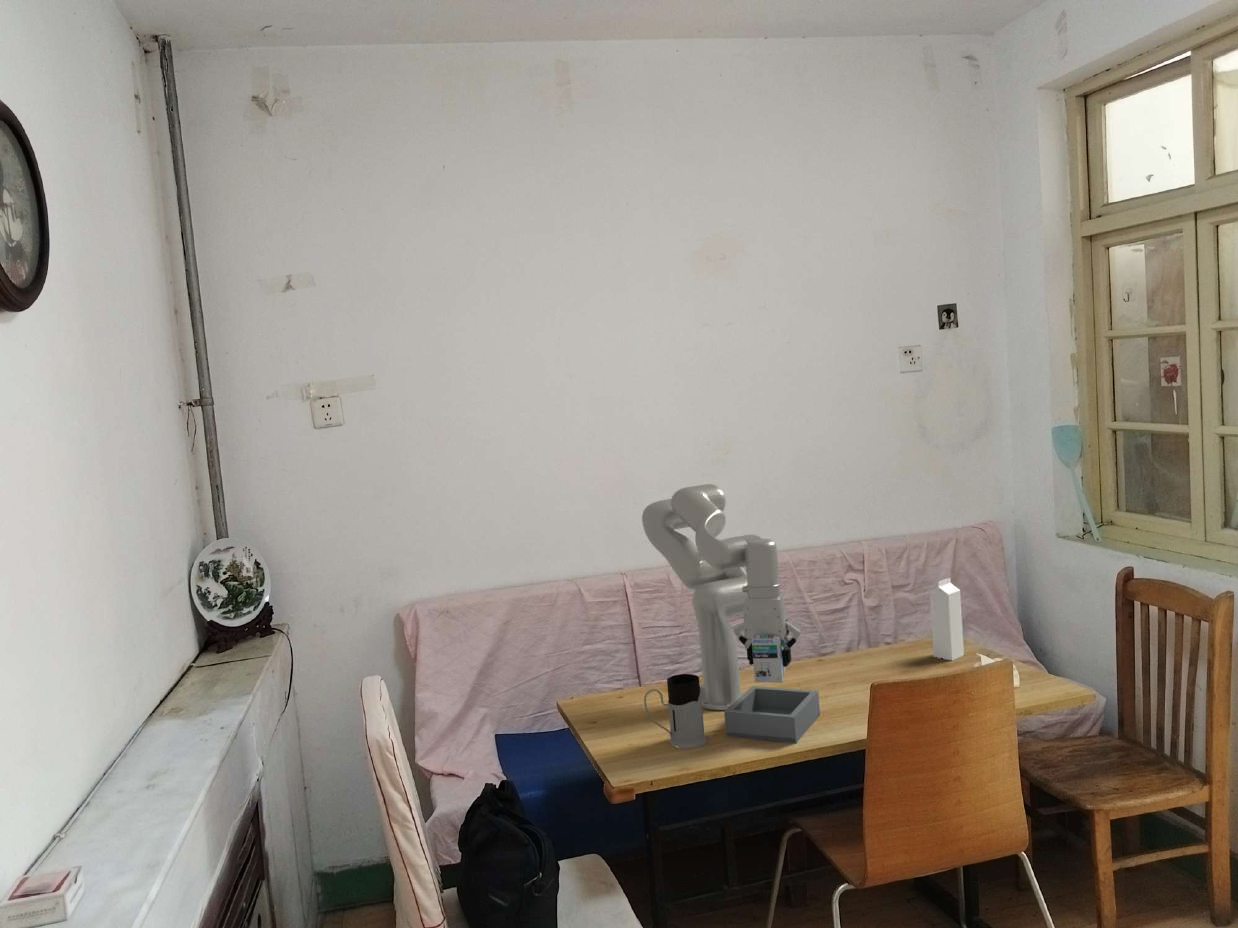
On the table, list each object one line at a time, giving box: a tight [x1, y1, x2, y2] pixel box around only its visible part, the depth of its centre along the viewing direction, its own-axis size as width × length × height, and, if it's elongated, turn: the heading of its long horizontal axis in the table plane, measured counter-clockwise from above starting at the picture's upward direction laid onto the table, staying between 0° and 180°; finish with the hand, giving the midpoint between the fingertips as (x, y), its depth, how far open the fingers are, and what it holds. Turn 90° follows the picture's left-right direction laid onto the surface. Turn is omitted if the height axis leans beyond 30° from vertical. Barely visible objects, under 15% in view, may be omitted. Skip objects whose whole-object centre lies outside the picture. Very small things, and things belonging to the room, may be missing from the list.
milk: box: [929, 577, 965, 661], centre depth 277 cm, size 6×6×22 cm
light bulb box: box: [752, 635, 786, 684], centre depth 235 cm, size 11×7×11 cm, turn 167°
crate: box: [723, 685, 821, 744], centre depth 236 cm, size 17×19×6 cm
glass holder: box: [643, 673, 708, 749], centre depth 230 cm, size 9×14×15 cm, turn 107°
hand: (769, 663), depth 235 cm, fingers closed on light bulb box, 7 cm apart
